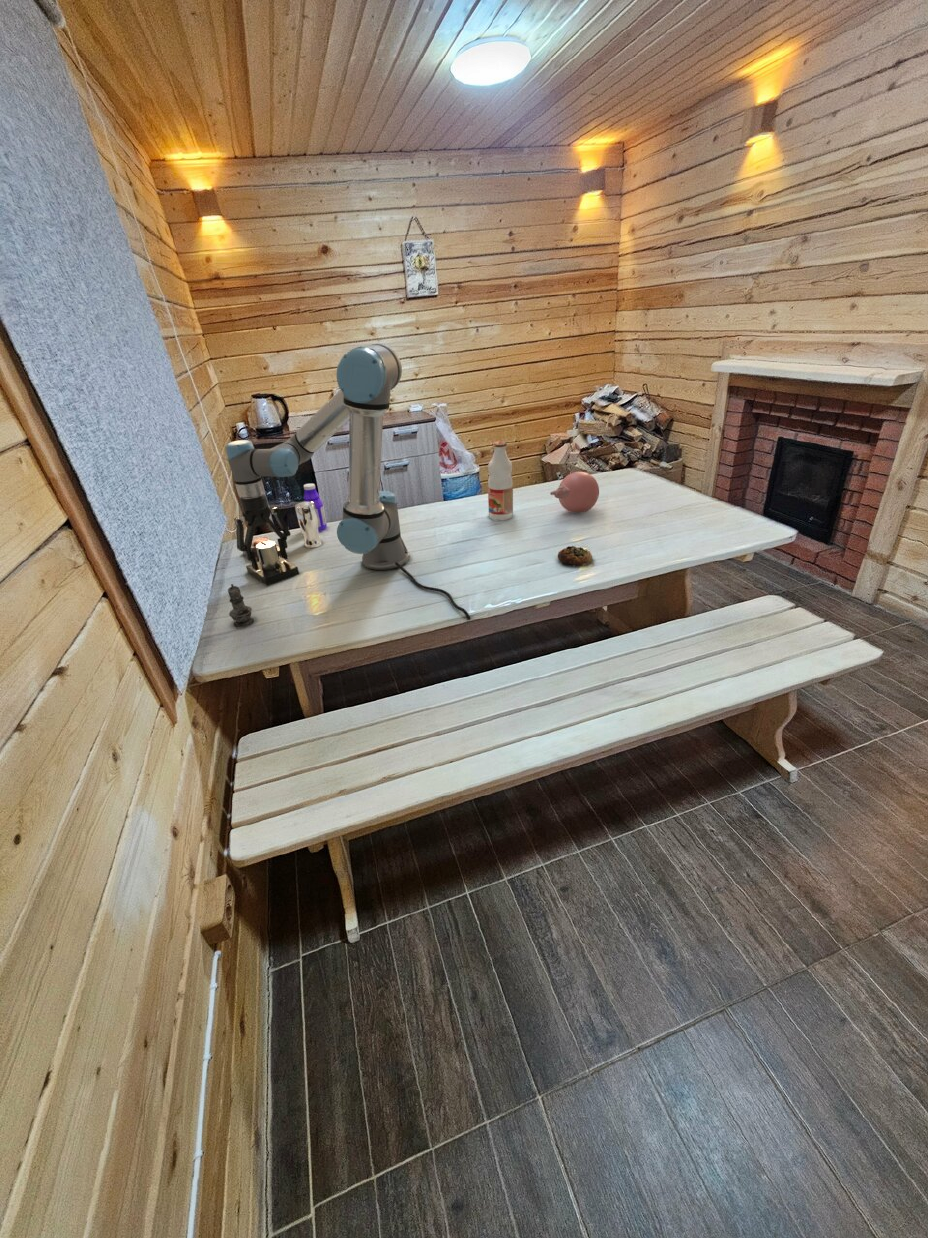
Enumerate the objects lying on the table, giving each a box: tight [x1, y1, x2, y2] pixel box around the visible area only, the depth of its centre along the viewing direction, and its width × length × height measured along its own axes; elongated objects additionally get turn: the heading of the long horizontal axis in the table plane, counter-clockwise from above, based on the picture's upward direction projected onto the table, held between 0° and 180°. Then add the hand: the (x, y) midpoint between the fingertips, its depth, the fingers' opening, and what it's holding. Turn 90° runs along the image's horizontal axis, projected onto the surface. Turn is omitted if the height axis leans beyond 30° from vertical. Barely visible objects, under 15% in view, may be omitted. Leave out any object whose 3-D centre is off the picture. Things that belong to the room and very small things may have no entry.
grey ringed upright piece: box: [227, 583, 255, 629], centre depth 139 cm, size 6×6×12 cm
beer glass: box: [294, 501, 323, 549], centre depth 184 cm, size 7×7×15 cm
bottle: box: [303, 483, 328, 532], centre depth 196 cm, size 7×6×17 cm
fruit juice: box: [487, 440, 514, 521], centre depth 195 cm, size 9×9×28 cm
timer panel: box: [245, 556, 300, 587], centre depth 168 cm, size 14×11×3 cm
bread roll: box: [557, 545, 593, 567], centre depth 165 cm, size 11×11×5 cm
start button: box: [252, 536, 269, 547], centre depth 180 cm, size 5×5×2 cm
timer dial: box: [256, 540, 281, 570], centre depth 165 cm, size 6×6×8 cm
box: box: [242, 538, 282, 562], centre depth 181 cm, size 12×10×4 cm
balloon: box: [550, 471, 600, 514], centre depth 197 cm, size 15×20×15 cm
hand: (270, 563), depth 167 cm, fingers open, 9 cm apart
